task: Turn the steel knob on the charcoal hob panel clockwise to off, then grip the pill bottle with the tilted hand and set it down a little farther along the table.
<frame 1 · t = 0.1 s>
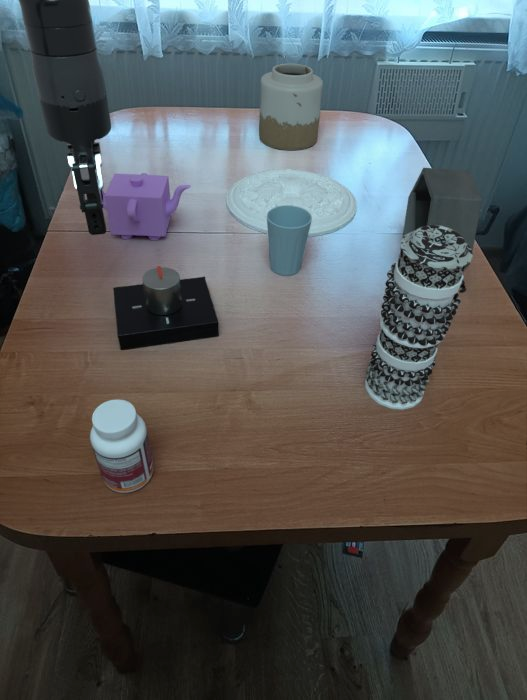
hand: (96, 216, 73), 18 cm above the table, tool pointing down, fingers open, 8 cm apart
cup: (285, 268, 99), on the table
ceiling medallion: (291, 203, 116), on the table
pill bottle: (128, 473, 66), on the table
teapot: (143, 230, 106), on the table
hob: (165, 318, 87), on the table
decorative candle: (393, 388, 78), on the table
hob knob: (162, 290, 83), point 6 cm above the table, hinge at 90.0°
planter: (424, 270, 100), on the table
vase: (287, 139, 141), on the table
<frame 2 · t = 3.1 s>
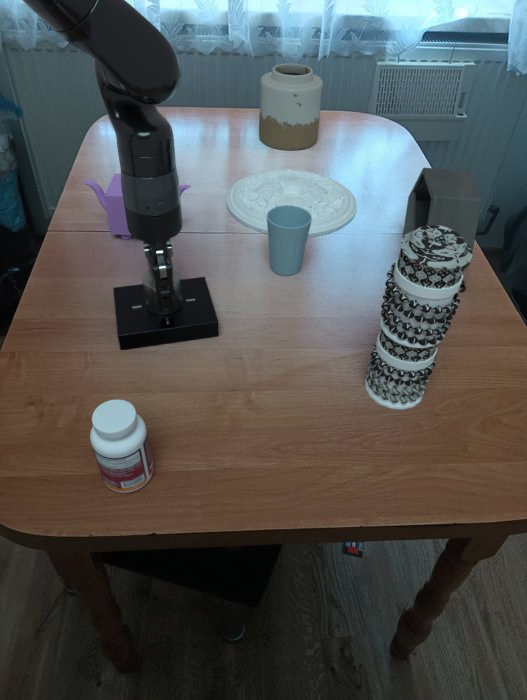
hand: (163, 297, 84), 4 cm above the table, tool pointing down, fingers closed on hob knob, 5 cm apart
hob knob: (162, 290, 83), point 6 cm above the table, hinge at 90.1°, touching gripper
everything else where it was.
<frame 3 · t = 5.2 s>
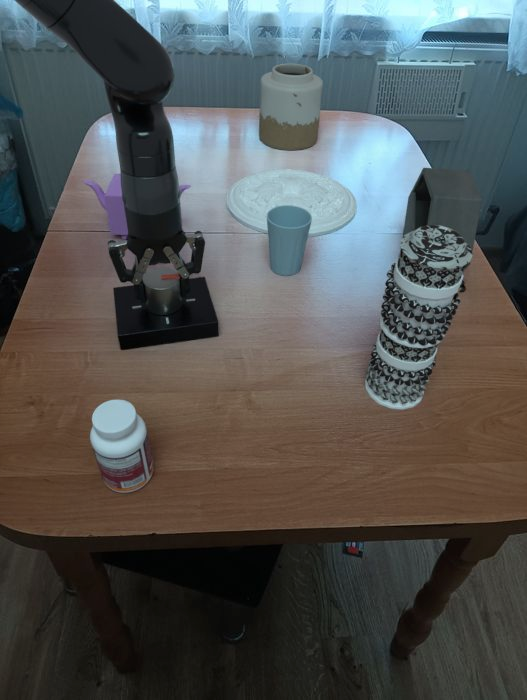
hand: (163, 296, 84), 4 cm above the table, tool pointing down, fingers closed on hob knob, 5 cm apart
hob knob: (162, 290, 83), point 6 cm above the table, hinge at -5.1°, touching gripper
everything else where it was.
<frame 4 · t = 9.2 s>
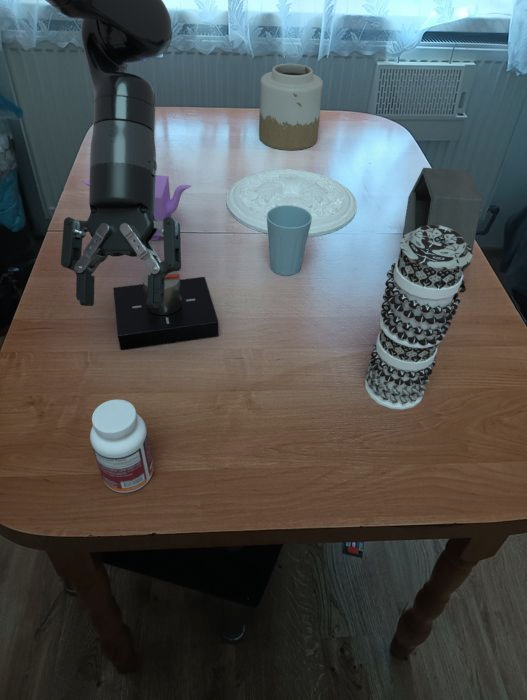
hand: (119, 306, 64), 15 cm above the table, tool tilted 40°, fingers open, 8 cm apart
hob knob: (162, 290, 83), point 6 cm above the table, hinge at -4.2°
everything else where it was.
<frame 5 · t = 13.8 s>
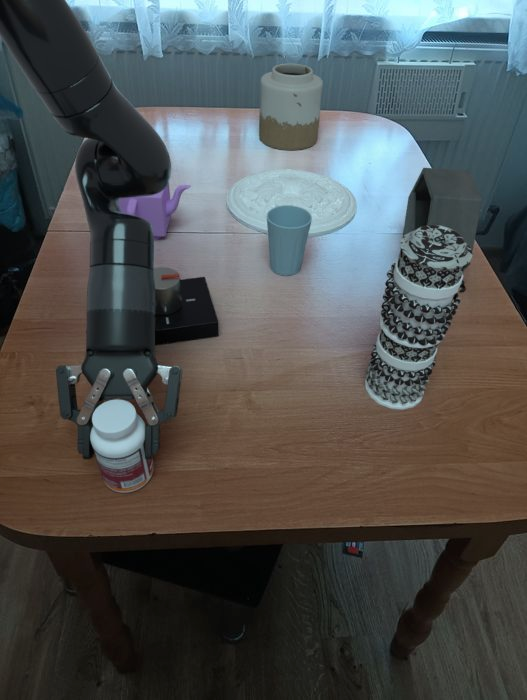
hand: (119, 457, 61), 6 cm above the table, tool tilted 45°, fingers closed on pill bottle, 6 cm apart
pill bottle: (128, 473, 66), on the table, touching gripper
everything else where it was.
when the fingers open (6 cm above the table, at t = 21.7 s): pill bottle stays where it is, on the table.
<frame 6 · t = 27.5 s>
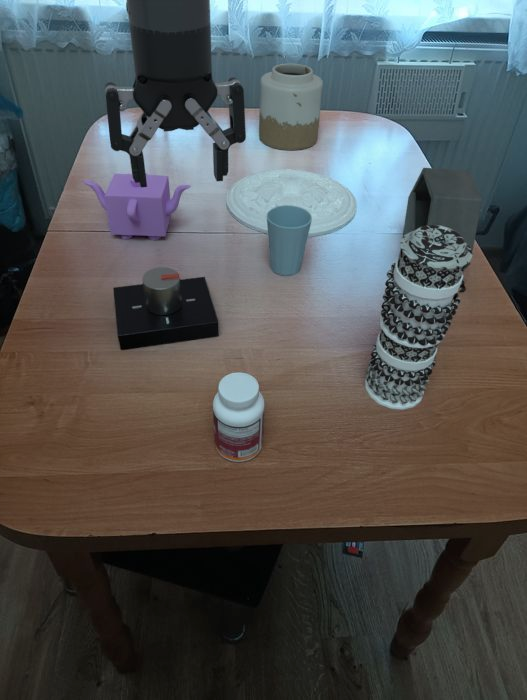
hand: (181, 181, 61), 28 cm above the table, tool pointing down, fingers open, 8 cm apart
pill bottle: (238, 445, 69), on the table
everything else where it was.
at the end: hob knob at -4° (first picture: +90°); pill bottle 0.2 cm from the target spot, on the table; pill bottle tilted 0° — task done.
